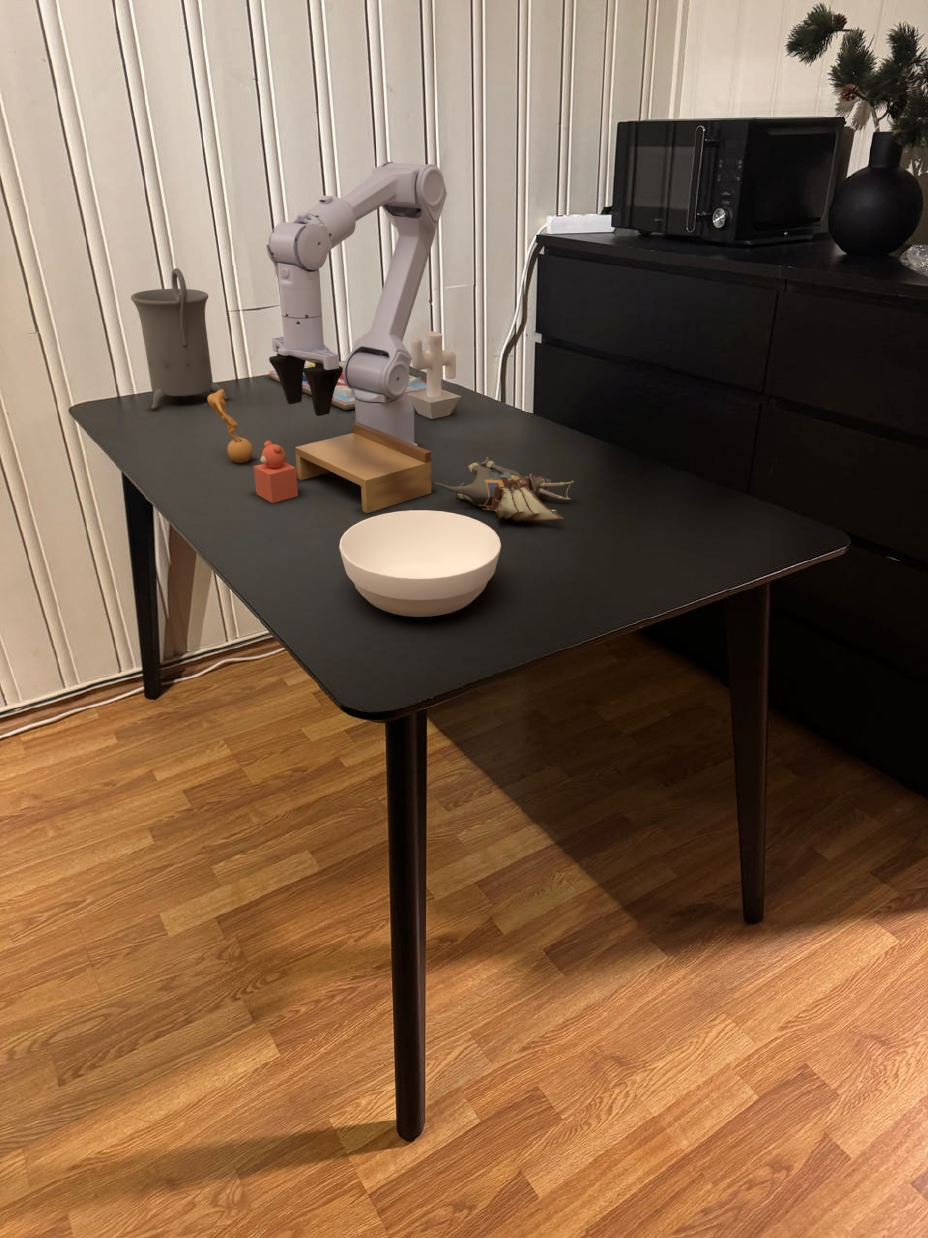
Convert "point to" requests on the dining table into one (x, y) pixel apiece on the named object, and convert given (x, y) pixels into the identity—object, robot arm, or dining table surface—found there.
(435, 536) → the bowl
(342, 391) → the puzzle board
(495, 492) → the figurine
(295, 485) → the orange box
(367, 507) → the shelf
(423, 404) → the figurine
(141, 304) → the grey footed cauldron
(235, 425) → the figurine
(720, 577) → the dining table surface
